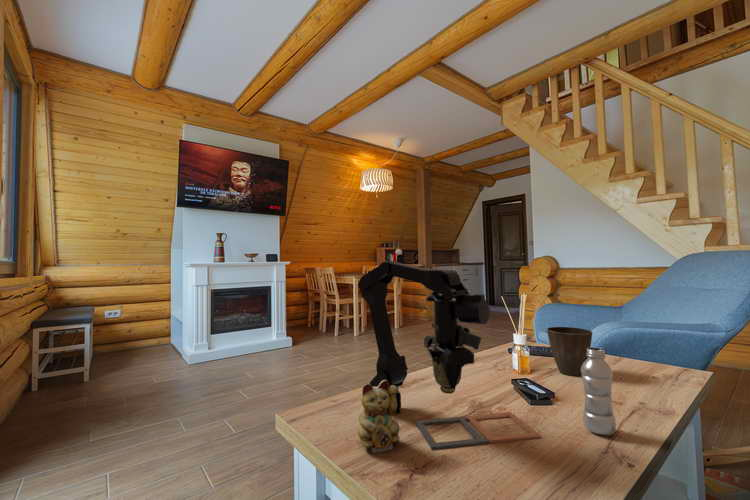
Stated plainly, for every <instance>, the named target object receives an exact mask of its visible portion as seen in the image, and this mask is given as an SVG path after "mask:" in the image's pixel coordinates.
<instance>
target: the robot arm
mask: <svg viewBox="0 0 750 500" xmlns="http://www.w3.org/2000/svg"><path fill="white" fill-rule="evenodd" d="M394 278H400V279H403V280H406V281H410V282H413V283H418V284H420V285H422V286H423V287H425V288H426V289H428V290H429V291H432V292H431V293H430V295H428V296H427V297H426V301H427V302H433V308H434V309H433V313H434V316H433V317H434V318H433V319H434V321H433V322H432V323H431V327H432V328H433V329H434V335H426V336H425V337H424V338H423V345H424V347H425V348H426V349H427V350H426V351H427V353H428V354H429V356H430V358H431V360H432V358H434V357H435V356H437V357H438V358H440V356H442V359H444V360H441V362H442V365H443V368H444V371H445V374H446V377H447V380H448V383H449V385H450V388H451V389H454V388H455V389H456V388H457V386H456V384H457V380H458V377H459V374H460V371H461V368H462V369H463V367H464V366H466V365H469V364H475V354H474V353H473V351H472V350H470V349H468V348H466V347H465V346H467V347H470V348H473V350H477V351H478V350H479V347H480V344H481V340H482V337H481V336H478V335H476V334H474V333H471V331H470V328H468V327H465V326H462V325H461V324H459V322H460V323H469V324H477V325H486V324H487V323H488V321H489V319H490V307H489V304H488V302H487V300H486V299H485V297H486V296H485V294H481V293H479V294H470V293H469V291H468V290H467V288H466V287H465V286H464V284H463V282H462V281H461V278H460V275H459V273H458V272H457V271H456V270H454V269H428V268H425V267H424V268H423V267H419V266H416V265H415V266H414V265H411V264H406V263H401V262H398V261H396V260H384V261H383V262H381V263H380V264H379V265H378V266H376V267H375V268H373V269H371V270H370V271H368V272H367V273H365V274H363V275H362V276H360V279H359V280H358V289H359V292H360V294H361V297H362V299H363V300H364V301H365V302H366V304H367V305H368V307H369V313H370V317H371V318H370V319H371V321H372V325H373V332H374V336H375V341H376V346H377V350H378V357H377V361H376V366H375V367H376V375H375V376H374V377H373V378H372V379H371V381H370V382H369V384H370V385H372V387H375V386H379V384H380V382H381V381H383V380H387V381H388V382H389V386H392V385H394V386H396V387H397V388H398V389H399V390H400V388H399V387H402V386H403V385H404V381H405V380H406V378H407V376H408V370H409V368H408V366H407V363H406V362H407V361H406V357H405V355H404V354H403V355H400V354H399V353H398V351H397V348H396V345H395V342H394V336H393V332H392V327H391V323H390V318H389V315H388V313H389V312H388V308H387V305H386V300H387V296H388V292H389V291H388V285H389V284H390V283H392V282H393V280H394ZM401 394H402V393H401V392H400V391H399V392H398V393H397V394H395V396H396V400H397V410H396V412H395V413H394V414H401V413H402V411H401V408H402V395H401ZM394 414H393V415H394Z"/></svg>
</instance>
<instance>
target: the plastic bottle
mask: <svg viewBox="0 0 750 500" xmlns="http://www.w3.org/2000/svg"><path fill="white" fill-rule="evenodd" d="M586 355H587V356H588V358H587V360H586V361H585V362H584V363H583V364H582V366H581V373H582V375H581V377H582V382H583V390H584V410H583V417H582V419H583V423H584V426H585V428H586V429H587V431H590V432H591V433H593V434H596V435H600V436H612V435H614V433H615V432H616V429H617V422H616V417H615V415H614V409H613V402H612V385H613V376H614V373H613V370H612V367H610V365H609V364H608V362H607V361H606V360H605V359H606V351H605V349H604V348H600V347H590V348H587V354H586Z"/></svg>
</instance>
